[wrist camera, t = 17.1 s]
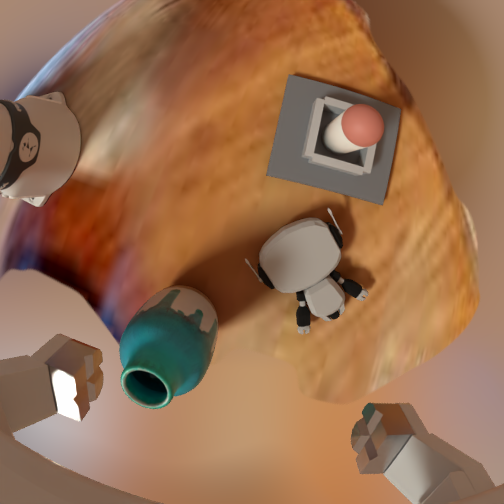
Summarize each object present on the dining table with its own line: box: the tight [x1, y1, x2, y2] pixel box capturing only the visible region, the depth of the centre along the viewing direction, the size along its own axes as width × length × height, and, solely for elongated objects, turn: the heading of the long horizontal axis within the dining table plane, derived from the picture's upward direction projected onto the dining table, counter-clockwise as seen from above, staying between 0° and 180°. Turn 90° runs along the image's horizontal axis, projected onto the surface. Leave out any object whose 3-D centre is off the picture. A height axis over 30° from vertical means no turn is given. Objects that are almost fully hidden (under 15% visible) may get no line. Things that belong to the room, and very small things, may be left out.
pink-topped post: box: [322, 104, 384, 155], centre depth 31 cm, size 4×4×12 cm
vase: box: [119, 285, 218, 409], centre depth 35 cm, size 11×11×19 cm
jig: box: [266, 75, 401, 205], centre depth 36 cm, size 16×14×4 cm
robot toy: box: [245, 208, 368, 334], centre depth 41 cm, size 12×4×15 cm
